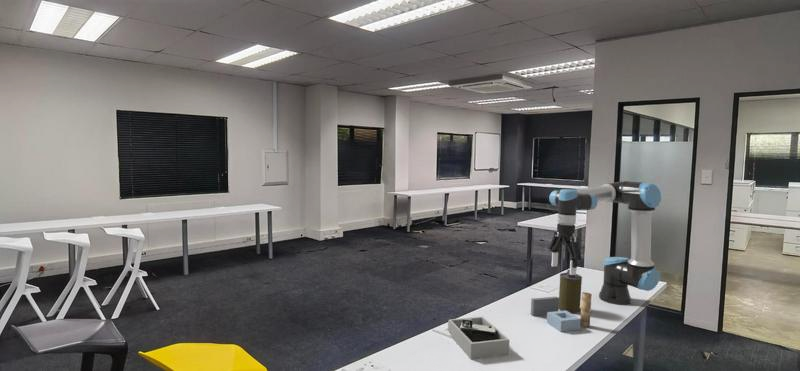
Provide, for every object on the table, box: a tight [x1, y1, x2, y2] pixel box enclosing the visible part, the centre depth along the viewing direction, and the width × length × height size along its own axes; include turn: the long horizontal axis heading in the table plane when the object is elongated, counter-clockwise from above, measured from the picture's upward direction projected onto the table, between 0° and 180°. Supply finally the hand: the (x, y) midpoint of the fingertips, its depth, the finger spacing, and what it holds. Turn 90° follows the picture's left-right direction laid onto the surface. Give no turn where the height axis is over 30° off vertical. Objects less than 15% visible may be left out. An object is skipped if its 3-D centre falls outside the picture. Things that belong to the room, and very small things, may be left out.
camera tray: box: [447, 316, 510, 360], centre depth 168 cm, size 16×23×6 cm
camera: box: [460, 317, 497, 342], centre depth 168 cm, size 15×8×10 cm, turn 71°
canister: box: [558, 269, 583, 315], centre depth 207 cm, size 11×10×20 cm
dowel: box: [579, 292, 592, 329], centre depth 187 cm, size 4×4×15 cm
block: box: [546, 310, 581, 333], centre depth 187 cm, size 10×10×5 cm
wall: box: [530, 296, 560, 317], centre depth 200 cm, size 14×2×8 cm, turn 105°
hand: (563, 270), depth 186 cm, fingers open, 13 cm apart
